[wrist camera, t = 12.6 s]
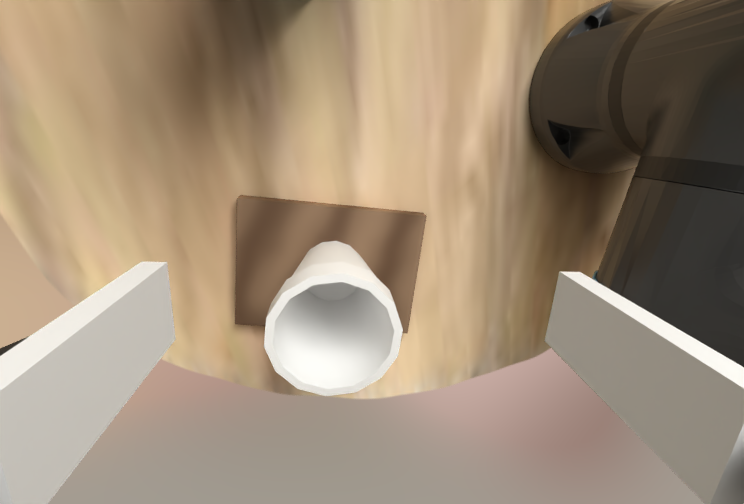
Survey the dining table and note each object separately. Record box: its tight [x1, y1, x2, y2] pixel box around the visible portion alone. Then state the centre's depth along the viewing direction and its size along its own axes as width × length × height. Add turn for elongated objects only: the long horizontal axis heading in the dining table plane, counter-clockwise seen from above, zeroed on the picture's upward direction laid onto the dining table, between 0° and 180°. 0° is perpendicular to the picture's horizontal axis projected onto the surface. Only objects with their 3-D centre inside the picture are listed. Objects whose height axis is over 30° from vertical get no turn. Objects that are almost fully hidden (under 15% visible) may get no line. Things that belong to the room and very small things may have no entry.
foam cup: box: [264, 241, 403, 396], centre depth 32 cm, size 10×9×13 cm
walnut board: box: [235, 195, 426, 333], centre depth 39 cm, size 18×13×2 cm
